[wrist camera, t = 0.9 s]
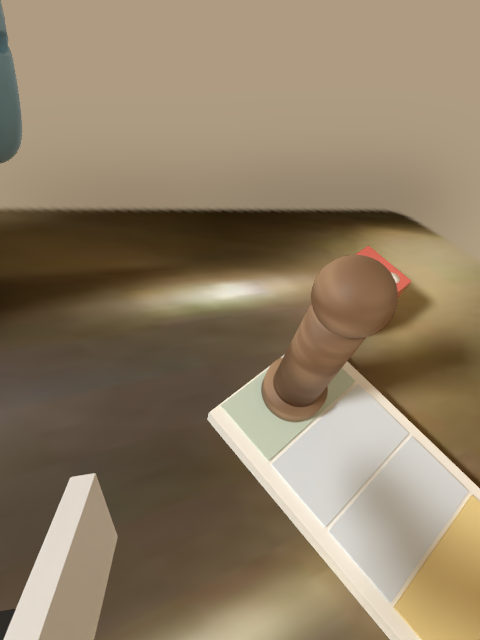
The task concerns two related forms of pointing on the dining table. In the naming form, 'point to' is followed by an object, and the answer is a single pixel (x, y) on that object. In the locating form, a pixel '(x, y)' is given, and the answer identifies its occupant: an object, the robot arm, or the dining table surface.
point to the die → (397, 275)
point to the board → (370, 503)
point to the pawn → (329, 334)
